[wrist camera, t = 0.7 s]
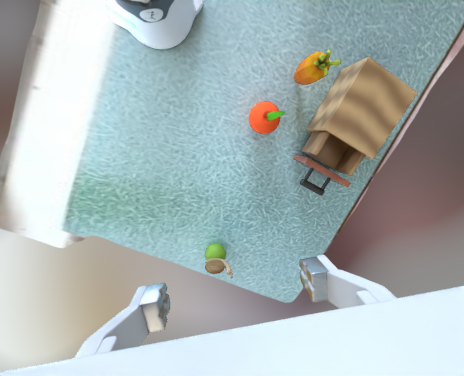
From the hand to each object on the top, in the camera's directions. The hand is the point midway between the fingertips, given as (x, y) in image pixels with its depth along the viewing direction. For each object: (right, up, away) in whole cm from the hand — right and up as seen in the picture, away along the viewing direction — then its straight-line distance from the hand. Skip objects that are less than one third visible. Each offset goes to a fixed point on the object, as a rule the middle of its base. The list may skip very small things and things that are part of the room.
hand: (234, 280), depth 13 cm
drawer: (+22, +14, +41) cm, 49 cm away
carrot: (+15, +31, +37) cm, 50 cm away
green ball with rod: (-4, -11, +46) cm, 48 cm away
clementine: (+7, +22, +38) cm, 45 cm away
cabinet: (+27, +24, +40) cm, 54 cm away
